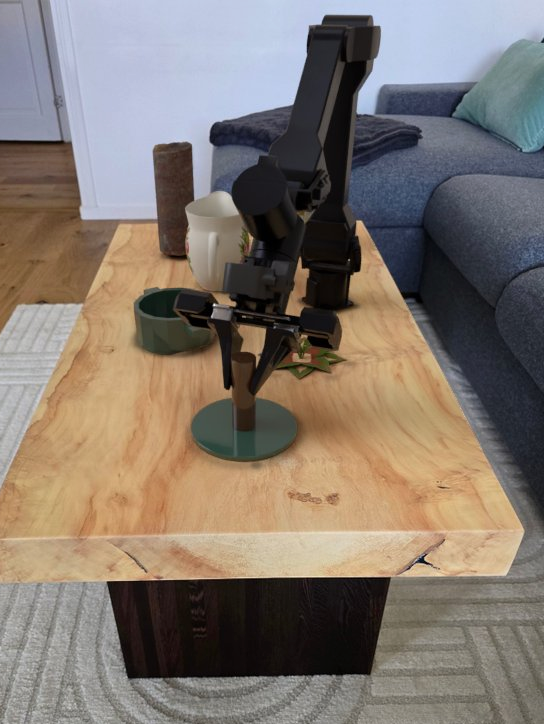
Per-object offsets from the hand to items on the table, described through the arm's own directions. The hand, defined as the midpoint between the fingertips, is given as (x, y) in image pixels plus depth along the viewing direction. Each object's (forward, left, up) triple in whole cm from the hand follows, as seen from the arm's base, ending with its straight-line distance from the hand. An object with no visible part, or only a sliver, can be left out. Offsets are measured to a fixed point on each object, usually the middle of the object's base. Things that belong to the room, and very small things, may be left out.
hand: (239, 391), depth 71 cm
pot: (-5, -28, -7) cm, 29 cm away
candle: (-21, -60, -7) cm, 64 cm away
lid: (-1, -1, -6) cm, 6 cm away
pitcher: (-20, -42, -7) cm, 47 cm away
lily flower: (-17, -12, -7) cm, 22 cm away
